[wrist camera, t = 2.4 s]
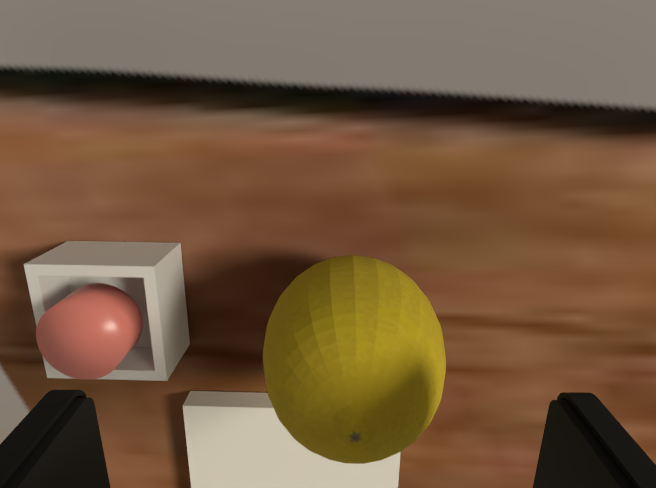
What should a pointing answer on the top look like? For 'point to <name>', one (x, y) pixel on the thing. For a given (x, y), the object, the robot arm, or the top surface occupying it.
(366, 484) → the paper pad
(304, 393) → the lemon
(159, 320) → the button base
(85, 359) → the button
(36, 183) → the top surface
